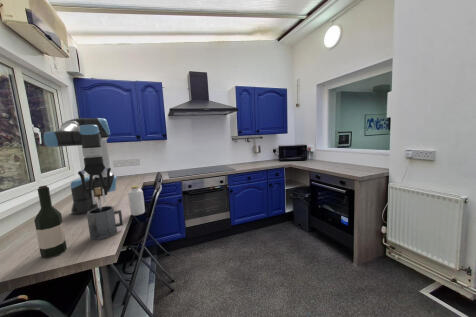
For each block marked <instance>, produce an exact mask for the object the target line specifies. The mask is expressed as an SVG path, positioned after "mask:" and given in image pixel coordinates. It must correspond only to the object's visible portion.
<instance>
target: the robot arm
mask: <svg viewBox="0 0 476 317" xmlns="http://www.w3.org/2000/svg"><path fill="white" fill-rule="evenodd" d="M110 135H111V131H110V127H109V124H108V121H107V119H106V118H104V117H103V118H101V117H94V118H91V117H90V118H89V117H88V118H86V117H84V118H82V117H81V118H80V117H77V118H73V119H72V118H71V119H69V120H66V121H64V122H63V123H62V124H61V125H60V128H58V129H56V131H53V130H51V131H45V132H44V133H43V141H44V144H45V146H46V147H48V148H58V147H73V146H75V147H76V146H81V150H82V155H83V157H84V158H83V164H84V167H83V169H81V170H79V171H78V172H77V174H78V175H79V177H80V178H78V179H74V180H72V181H71V182H70V190H71V197H72V207H71V211H70V213H71V215H76V216H77V215H78V216H79V215H84V214H87V212H88V211H90V210H93V209H95V208H99V203H98V202H97V200H96V197H94V191H93V189H94V188H98V187H102V193H103V196H102V199H103V203H106V202H107V200H106V199H107V198H106V196H107V195H108V193H111V192H115V190H117V175H114V173H113V172H112V171H111V170H112V168H111V165H110V158H109V151H108V150H109V149H108V143H107V142H108V141H107V140H108V139H109V136H110ZM85 173H87V174H88V175H89V176H86V177H85Z"/></svg>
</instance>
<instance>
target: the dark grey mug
mask: <svg viewBox="0 0 476 317" xmlns="http://www.w3.org/2000/svg"><path fill="white" fill-rule="evenodd" d="M101 207H102V212H101V213H100V210H99V207H98V208H95V209H93V210H90V211H88V212H87V213H86V218H87V226H88V230H89V238H90V240H91V241H101V240H104V239H108V238H110V237H112V236H114V235H116V234H117V233H118V227H122V226H124V223H123V216H122V209H119V210H115V208H114V206H112V205H105V206H101ZM116 215H118V218H119V223H116Z"/></svg>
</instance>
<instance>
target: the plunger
mask: <svg viewBox="0 0 476 317" xmlns="http://www.w3.org/2000/svg"><path fill="white" fill-rule="evenodd" d="M93 191H94V197H95V198H97V201H98V202H97V204H98V208H99V210H100V213H101V212H102V207H103V206H102V201H101V197H103V193H102V187H98V188H94V189H93Z"/></svg>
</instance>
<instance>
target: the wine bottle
mask: <svg viewBox="0 0 476 317" xmlns="http://www.w3.org/2000/svg"><path fill="white" fill-rule="evenodd" d="M37 193H38V199H39V205H40V209H39V211H38V213H37V214H36V216H35V218H34V221H33V222H34V226H35V231H36V236H37V242H38V248H39V254H40V258H41V259H46V260H47V259H50V258H54V257H58V256H60V255H61V254H63V253H65V252H66V250H67V249H68V247H67V246H68V245H67V242H66V241H67V240H66V234H65V228H64V222H63V216H62V213H61V211H59V210H58V209H57V208H55V206H53V204H52V198H51V193H50V187H48V185H40V186H38V188H37Z"/></svg>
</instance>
